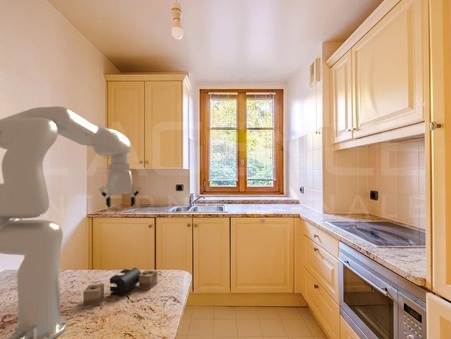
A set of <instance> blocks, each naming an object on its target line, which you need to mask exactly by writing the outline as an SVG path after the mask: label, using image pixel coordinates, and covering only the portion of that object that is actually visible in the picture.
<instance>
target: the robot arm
mask: <svg viewBox="0 0 451 339" xmlns="http://www.w3.org/2000/svg"><path fill="white" fill-rule="evenodd" d="M58 136H62V137H64V138H66V139H69V140H70V141H73V142H74V143H77V144H79V145H82V146H87V147H93V151H94V152H95V153H96V154H97V155H99V156H100V157H101V156H102V157H109V156H110V164H108V165H107V166H106V167H107V169H109V170H110V171H108V174H107V183H106V184H105V185H103V186H102V187H100V188H99V189H98V190H99V192H100V193H101V195H102V197H103V198H105V204H106V205H105V206H107V208H111V206H112V199H111V196H112V195H120V194H121V195H123V194H124V195H127V194H129V195H130V196H131V197H130V206H131V207H134V205H135V204H136V196H137V195H139V193H140V191H141V189H142V187H141V186H140V185H138V184H136V183H134V182H133V175H132V171H131V170H130V151H131V149H132V148H131V147H132V145H131V141H130V140H129V139H128V137H127V136H126V135H124V134H123V133H121V132H119V131H117V130H115V129H111V128H109V127H105V126H102V125H99V124H94V123H92V122H90V121H88V120H87V119H86V118H84V117H82V116H80V115H79V114H78V113H76V112H74V111H72V110H71V109H69V108H67V107H64V106H60V105H59V106H42V107H41V106H40V107H33V108H30V109H27V110H23V111H21V112H17V113H16V114H12V115H9V116H7V117H3V118H0V148H1V149H4V150H6V151H5V153H4V155H3V157H2V160H1V174H2V179H3V183H0V254H3V255H13V256H14V255H18V256H23V260H22V262H21V264H20V265H19V267H18V270H17V273H16V274H17V275H16V283H17V317H18V318H17V319H18V320H17V322H18V323H17V324H18V325H17V326H15V327H14V332H13V333H12V334H11V335H10V337H8V338H7V339H55V338H57V337H58V336H60V335H61V334H63V332H64V331H65V330H66V328H67V326H68V321H67V318H65V317H63V316H61V286H60V285H61V283H60V282H61V281H60V255H61V254H60V253H61V249H62V248H61V247H62V243H63V240H64V239H63V238H64V234H63V233H64V232H63V229H62V227H61V226H60V225H59V224H58V223H56V222H55V221H51V220H46V219H34V218H38V217H41V216H43V215H44V214H46V213H47V212H48V210H49V207H50V198H49V193H48V187H47V183H46V178H45V174H44V167H43V162H44V158H45V157H46V155H47V153H48V151H49V149H51V147H52V146H53V145H54V144H55V143H56V141H57V140H58ZM134 188H136V191H135V192H134ZM105 190H106V191H107V192H106V191H105ZM32 218H33V219H32Z"/></svg>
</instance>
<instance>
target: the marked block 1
mask: <svg viewBox="0 0 451 339" xmlns="http://www.w3.org/2000/svg"><path fill="white" fill-rule="evenodd" d="M82 293H83V294H82V295H83V307H85V308H86V307H94V306H100V305H101V304H102V303H103V300H104V299H105V283H99V284H98V283H97V284H89V285H88V286H87V287H86V288H85V290H83V292H82Z"/></svg>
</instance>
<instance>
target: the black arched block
mask: <svg viewBox="0 0 451 339" xmlns="http://www.w3.org/2000/svg"><path fill="white" fill-rule="evenodd" d="M141 273H142V272H141V270H140V269H138V268H137V267H134V268H132V269H126V268H123V270H121V271H120V274H114V275H113V276H111V277H110V278H109V284H113V285H114V284H115V285H116V286H112V285H111V286H109V291H110V295H111V296H117V297H122V296H123V295H125V294H126V293H127V292H128V291H130V290H131V289H133V288H134V287H135V286H136V285H138V284H139V275H140V274H141Z"/></svg>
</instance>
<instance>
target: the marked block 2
mask: <svg viewBox="0 0 451 339" xmlns="http://www.w3.org/2000/svg"><path fill="white" fill-rule="evenodd" d="M156 285H158V270H152V269H151V270H149V269H146V270H145V271H143V272H141V274H140V275H139V282H138V288H139V289H145V290H151V289H153V288H154V287H156Z"/></svg>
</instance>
